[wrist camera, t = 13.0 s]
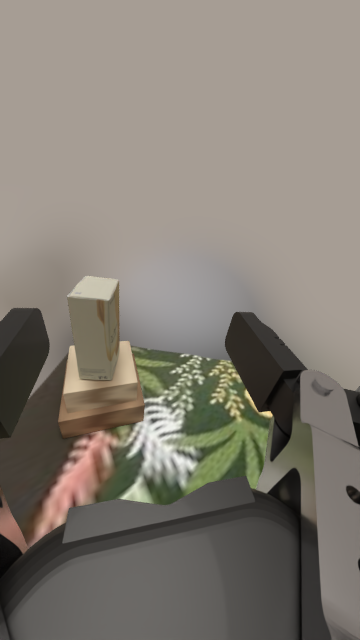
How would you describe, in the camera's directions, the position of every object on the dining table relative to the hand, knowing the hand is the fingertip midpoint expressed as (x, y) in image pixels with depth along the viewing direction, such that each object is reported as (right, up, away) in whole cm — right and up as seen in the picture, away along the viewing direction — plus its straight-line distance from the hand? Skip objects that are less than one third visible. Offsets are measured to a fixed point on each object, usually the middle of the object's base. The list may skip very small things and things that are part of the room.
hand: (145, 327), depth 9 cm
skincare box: (-10, -6, +21) cm, 24 cm away
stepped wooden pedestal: (-11, -13, +26) cm, 31 cm away
